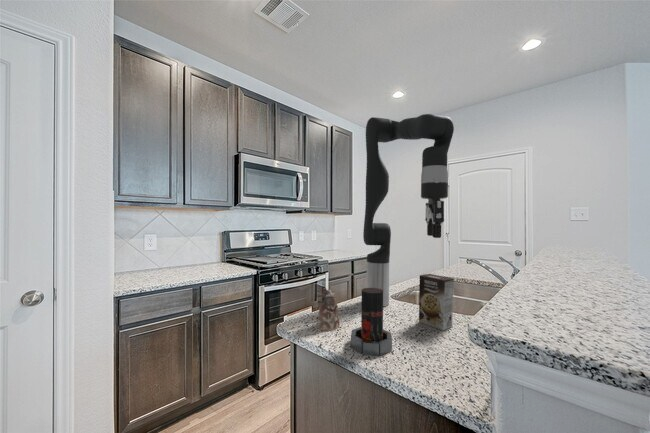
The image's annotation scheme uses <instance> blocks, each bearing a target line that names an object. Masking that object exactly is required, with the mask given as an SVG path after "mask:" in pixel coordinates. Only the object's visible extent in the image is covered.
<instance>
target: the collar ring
mask: <svg viewBox="0 0 650 433" xmlns="http://www.w3.org/2000/svg"><path fill="white" fill-rule="evenodd" d="M350 334H351V335H350V348H351V349H353V350H355V351H356V352H358V353H359V354H362V355H367V356H368V355H370V356H378V357H379V356H382V355H386V354H388V353H391V352H392V351H393V337H392V333H391V332H390V331H388V330H387V329H384V328H383V340H382V341H379V342H373V341H364V340H362V339H361V327H357V328H353V329H351V333H350Z"/></svg>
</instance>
